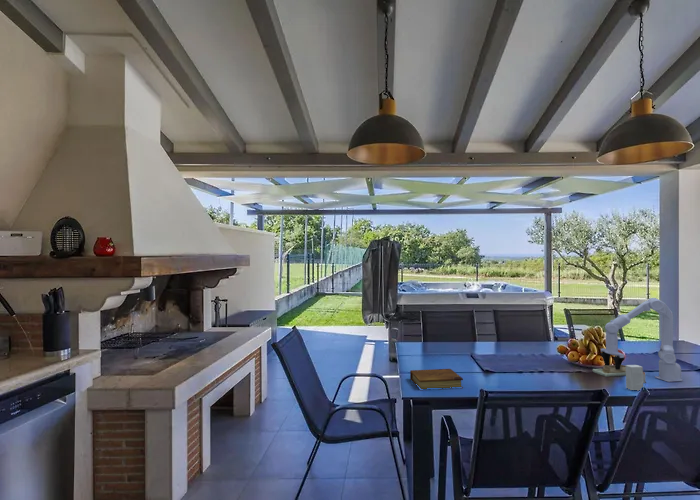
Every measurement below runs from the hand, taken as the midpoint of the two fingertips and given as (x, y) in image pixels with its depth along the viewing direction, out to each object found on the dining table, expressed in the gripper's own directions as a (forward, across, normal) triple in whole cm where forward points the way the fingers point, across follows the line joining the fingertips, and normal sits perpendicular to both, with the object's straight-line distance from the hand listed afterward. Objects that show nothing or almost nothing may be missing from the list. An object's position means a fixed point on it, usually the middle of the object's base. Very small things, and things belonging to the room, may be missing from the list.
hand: (612, 367), depth 228 cm
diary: (+4, -1, -106) cm, 106 cm away
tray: (+3, 0, +1) cm, 4 cm away
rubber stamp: (+3, +17, +3) cm, 18 cm away
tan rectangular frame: (+3, 0, +3) cm, 4 cm away
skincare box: (+4, +26, -11) cm, 28 cm away
